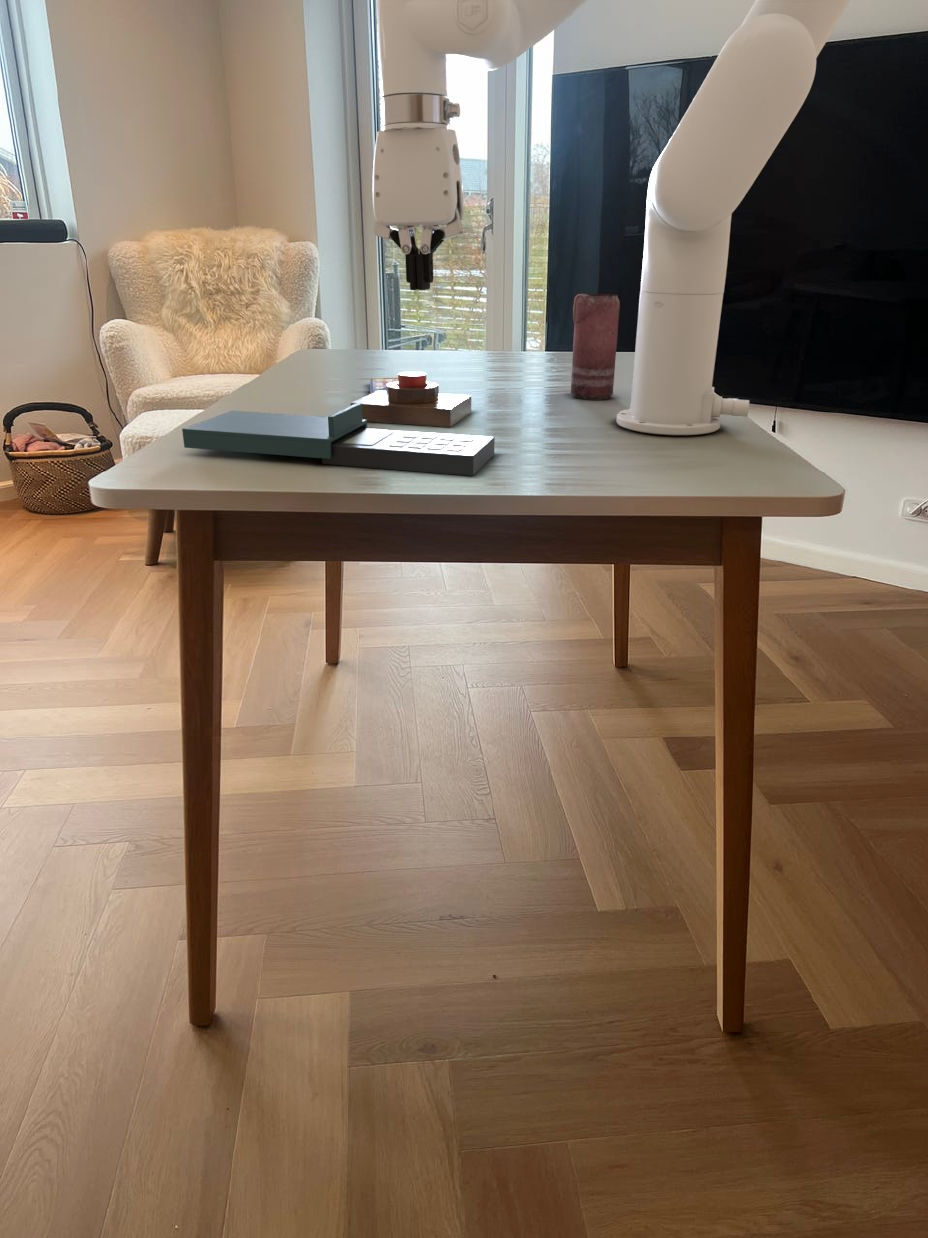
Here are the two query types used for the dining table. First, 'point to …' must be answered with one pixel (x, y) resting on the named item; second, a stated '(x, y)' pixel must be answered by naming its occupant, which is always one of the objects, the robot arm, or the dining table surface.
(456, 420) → the block
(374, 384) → the smartphone
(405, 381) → the timer button
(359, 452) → the calculator
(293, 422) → the cover
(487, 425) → the dining table surface
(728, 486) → the dining table surface
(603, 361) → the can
